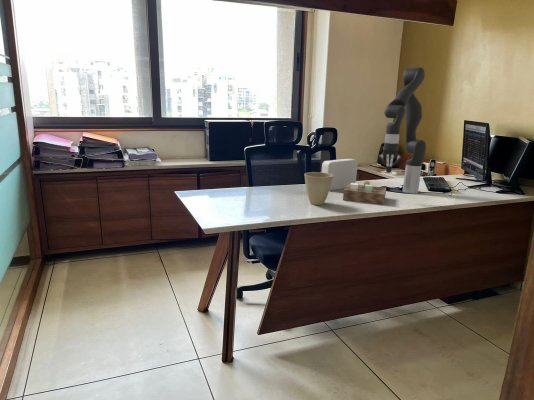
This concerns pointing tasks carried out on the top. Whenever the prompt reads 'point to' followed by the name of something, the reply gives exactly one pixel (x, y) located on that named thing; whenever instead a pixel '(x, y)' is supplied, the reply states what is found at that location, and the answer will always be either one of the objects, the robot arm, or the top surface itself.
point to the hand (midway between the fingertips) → (388, 172)
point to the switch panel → (365, 195)
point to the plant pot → (317, 186)
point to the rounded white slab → (341, 172)
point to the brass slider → (366, 183)
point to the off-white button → (353, 186)
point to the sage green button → (368, 188)
